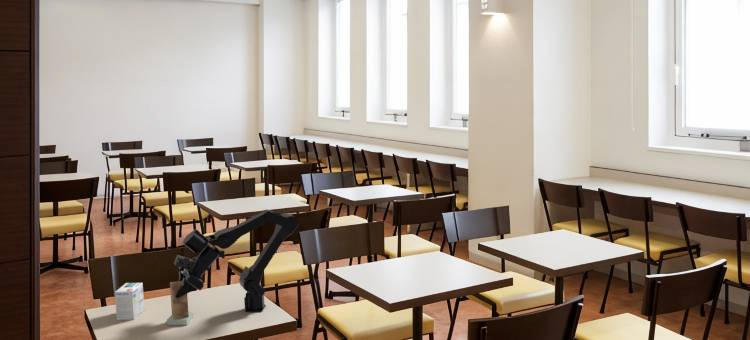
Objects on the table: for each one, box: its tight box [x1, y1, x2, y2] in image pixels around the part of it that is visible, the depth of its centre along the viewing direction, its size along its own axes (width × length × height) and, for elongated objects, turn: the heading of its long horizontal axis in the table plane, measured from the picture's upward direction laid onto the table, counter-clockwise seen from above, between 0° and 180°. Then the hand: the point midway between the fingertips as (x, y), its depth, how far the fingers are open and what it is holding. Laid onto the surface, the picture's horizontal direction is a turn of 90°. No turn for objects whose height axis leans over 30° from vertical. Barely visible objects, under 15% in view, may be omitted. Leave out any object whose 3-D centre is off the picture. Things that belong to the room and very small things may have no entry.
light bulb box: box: [114, 282, 145, 321], centre depth 253 cm, size 11×7×11 cm, turn 178°
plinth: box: [166, 312, 194, 326], centre depth 245 cm, size 7×7×2 cm
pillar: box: [169, 281, 189, 319], centre depth 244 cm, size 5×5×12 cm
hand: (174, 295), depth 243 cm, fingers open, 5 cm apart
